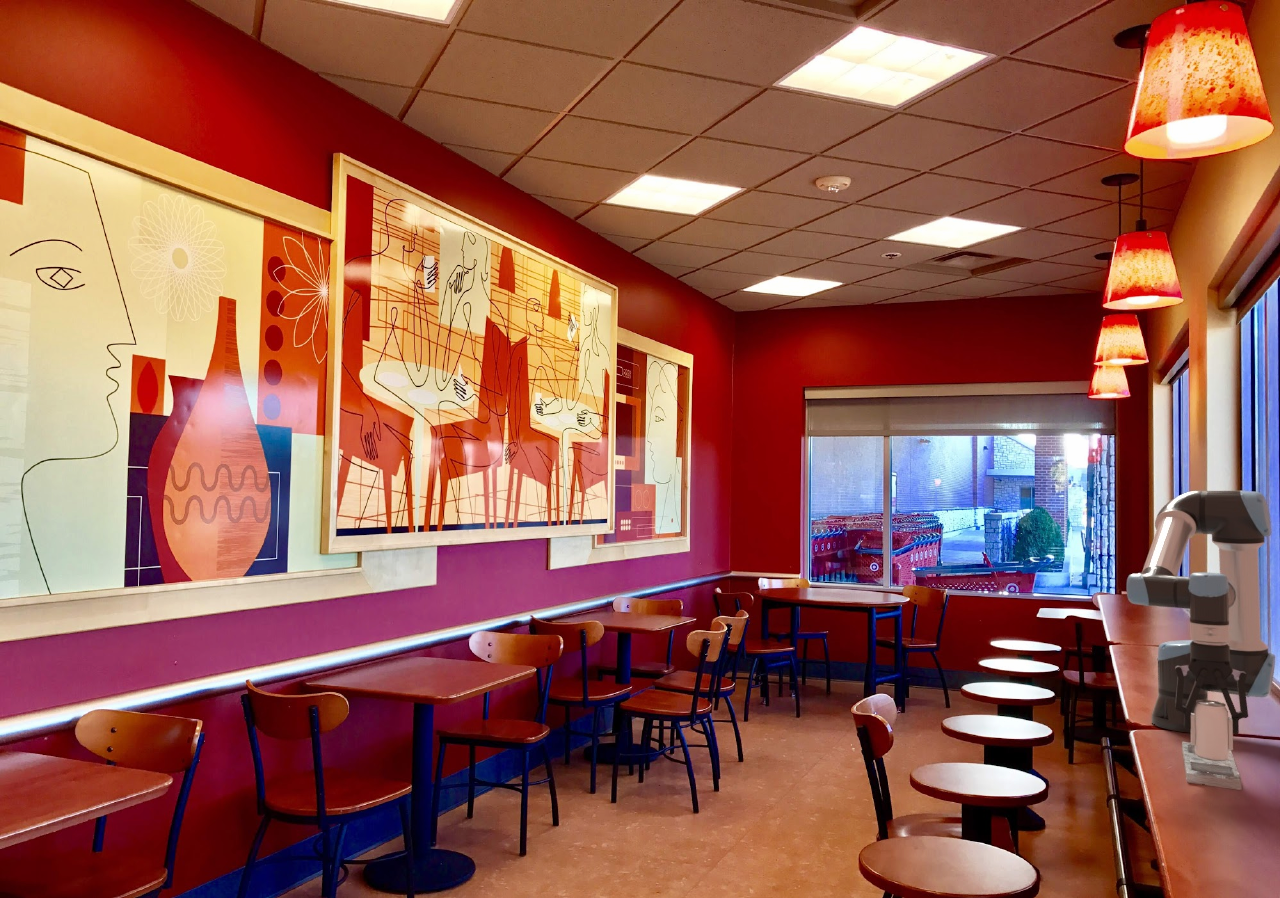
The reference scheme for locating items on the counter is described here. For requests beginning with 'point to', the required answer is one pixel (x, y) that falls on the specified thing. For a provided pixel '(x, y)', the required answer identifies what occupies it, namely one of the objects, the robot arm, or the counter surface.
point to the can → (1211, 730)
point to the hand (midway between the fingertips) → (1211, 745)
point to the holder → (1210, 769)
